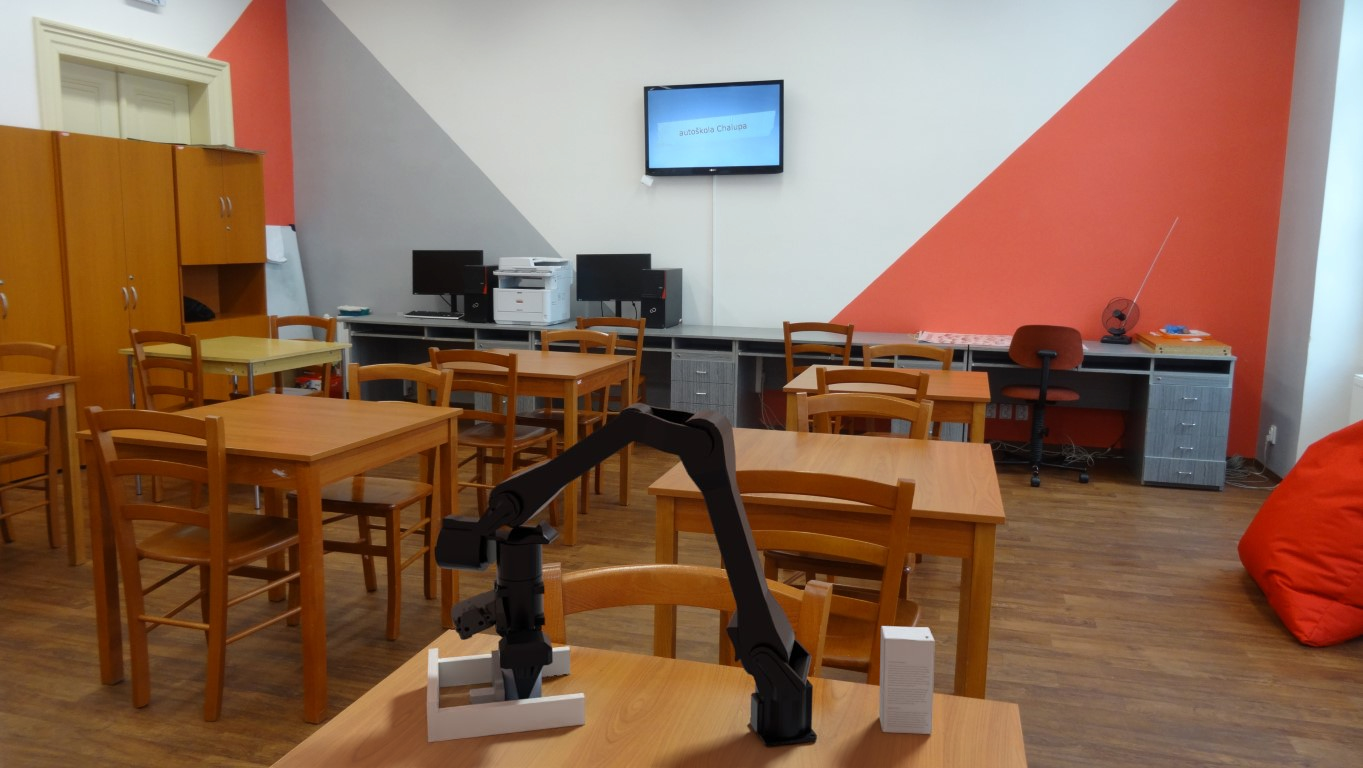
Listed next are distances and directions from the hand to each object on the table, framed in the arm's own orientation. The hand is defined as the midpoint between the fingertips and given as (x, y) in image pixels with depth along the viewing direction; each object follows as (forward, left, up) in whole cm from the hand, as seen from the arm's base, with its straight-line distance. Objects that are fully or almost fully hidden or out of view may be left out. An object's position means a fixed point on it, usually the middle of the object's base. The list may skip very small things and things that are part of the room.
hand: (522, 690), depth 122 cm
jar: (0, 0, -1) cm, 1 cm away
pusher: (+4, 0, -1) cm, 5 cm away
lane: (+2, 0, -2) cm, 3 cm away
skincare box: (-45, +17, -2) cm, 48 cm away
